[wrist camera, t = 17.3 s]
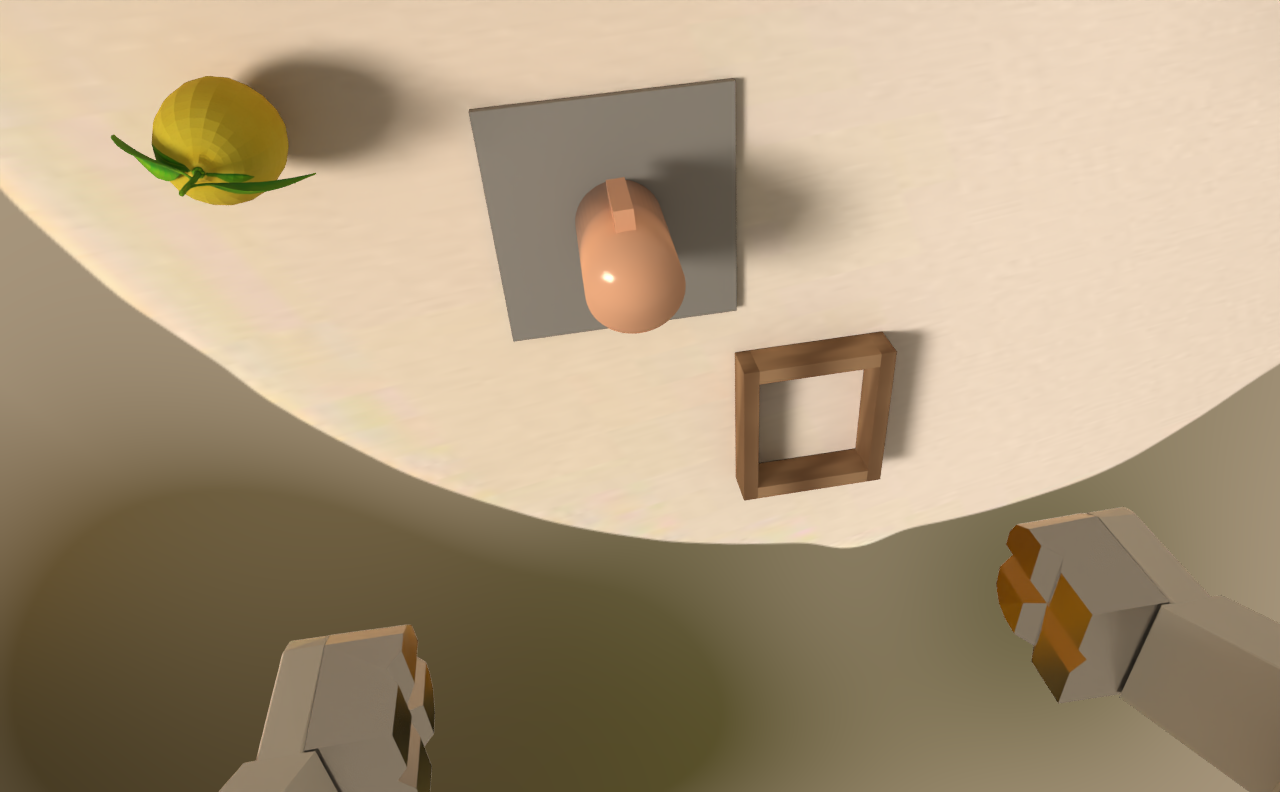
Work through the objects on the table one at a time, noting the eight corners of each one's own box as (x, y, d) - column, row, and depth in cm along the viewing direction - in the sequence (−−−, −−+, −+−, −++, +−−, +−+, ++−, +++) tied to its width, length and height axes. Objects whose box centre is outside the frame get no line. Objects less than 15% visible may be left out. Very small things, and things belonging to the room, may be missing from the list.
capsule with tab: (655, 153, 45) (679, 215, 39) (666, 253, 49) (689, 324, 42) (565, 168, 45) (573, 231, 39) (582, 267, 49) (592, 340, 42)
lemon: (338, 125, 42) (303, 201, 34) (266, 199, 44) (216, 289, 36) (221, 19, 39) (151, 77, 31) (148, 104, 41) (63, 180, 33)
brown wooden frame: (882, 331, 55) (896, 351, 53) (867, 457, 62) (879, 479, 60) (735, 352, 54) (744, 374, 52) (735, 477, 61) (744, 500, 59)
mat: (733, 78, 44) (735, 80, 44) (734, 306, 52) (736, 310, 52) (469, 109, 43) (468, 112, 43) (513, 337, 51) (513, 341, 51)
